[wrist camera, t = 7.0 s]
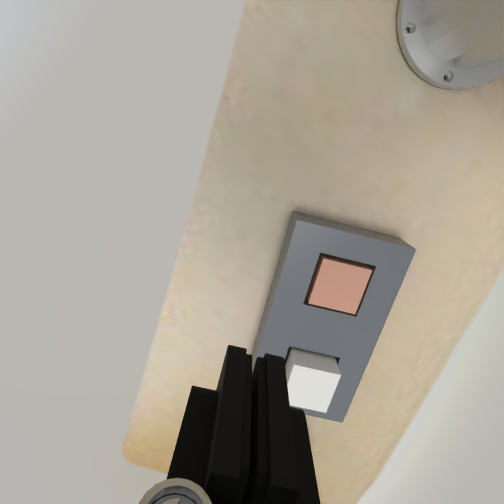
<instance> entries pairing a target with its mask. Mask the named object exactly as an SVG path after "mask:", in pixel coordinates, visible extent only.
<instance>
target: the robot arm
mask: <svg viewBox="0 0 504 504" xmlns="http://www.w3.org/2000/svg"><path fill="white" fill-rule="evenodd" d="M406 28H408V29H409V33H407V32H406ZM397 32H398V38H399V44H400V47H401V50H402V52H403V55H404V57H405V59H406V61H407V62H408V64H409V65H410V67H411V69H412V70H413V71H414V72H415V73H416V74H417V75H418V76H419V77H420V78H422V79H423V80H425V81H426V82H428V83H430V84H431V85H434V86H437V87H440V88H443V89H452V90H460V89H469V88H473V87H477V86H481V85H483V84H486V83H488V82H491V81H493V80H495V79H497V78H499V77H500V76H502V75H503V74H504V0H399V6H398V13H397ZM444 76H445V77H446V80H444ZM246 352H247V351H246V349H245V348H241V347H236V346H232V345H228V348H227V351H226V355H225V359H224V363H223V367H222V370H221V374H220V378H219V382H218V386H217V389H216V391H215V390H210V389H206V388H201V387H197V386H192V388H191V392H190V395H189V399H188V403H187V406H186V410H185V414H184V417H183V421H182V425H181V428H180V432H179V436H178V439H177V443H176V447H175V450H174V454H173V458H172V461H171V465H170V469H169V472H168V476H167V479H166V480H165V481H162V482H160V483H157V484H155V485H154V486H153V487H152V488H151V489H150V490H148V491H147V492H146V494H145V495H144V496H143V498H142V499H141V501H140V502H139V504H320V499H319V493H318V487H317V481H316V476H315V470H314V464H313V458H312V452H311V446H310V440H309V435H308V429H307V423H306V417H305V413H304V411H303V410H302V409H298V408H294V407H290V403H289V395H288V386H287V378H286V369H285V361H284V357H281V356H276V355H272V354H267V353H265V355H264V357H263V358H262V357H257V359H256V362H255V365H254V369H253V372H252V359H253V357H252V355H249V354H246Z"/></svg>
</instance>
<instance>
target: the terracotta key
mask: <svg viewBox="0 0 504 504" xmlns="http://www.w3.org/2000/svg"><path fill="white" fill-rule="evenodd" d="M371 272H372V270H371V268H370V267H369V266H368V265H367V264H365V263H361V262H357V261H352V260H348V259H344V258H340V257H336V256H332V255H328V254H324V253H320V255H319V258H318V261H317V264H316V267H315V270H314V273H313V276H312V279H311V282H310V285H309V288H308V291H307V294H306V297H307V300H308V303H309V304H313V305H317V306H322V307H326V308H330V309H334V310H339V311H343V312H347V313H351V314H355V313H356V311H357V308H358V306H359V303H360V301H361V298H362V296H363V293H364V290H365V288H366V285H367V283H368V280H369V278H370V275H371Z"/></svg>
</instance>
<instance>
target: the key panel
mask: <svg viewBox="0 0 504 504" xmlns="http://www.w3.org/2000/svg"><path fill="white" fill-rule="evenodd" d="M415 251H416V249H415V248H413V247H412V246H410V245H409V244H407V243H406V242H404V241H403V240H401V239H400V238H397V237H393V236H389V235H385V234H381V233H377V232H373V231H369V230H365V229H361V228H357V227H353V226H349V225H345V224H341V223H337V222H333V221H329V220H325V219H321V218H317V217H313V216H309V215H305V214H301V213H297V212H293V213H292V217H291V220H290V224H289V227H288V231H287V234H286V237H285V241H284V244H283V248H282V251H281V255H280V258H279V261H278V265H277V268H276V272H275V275H274V279H273V282H272V285H271V289H270V292H269V296H268V299H267V303H266V306H265V309H264V313H263V316H262V320H261V323H260V327H259V330H258V333H257V337H256V340H255V344H254V347H253V351H252V354H251V355H252V357H253V359H252V372H253V369H254V365H255V362H256V359H257V357H262V358H263V357H264V355H265V353H267V354H272V355H276V356H281V357H284V361H285V365H286V362H287V359H288V356H289V353H290V350H291V347H292V348H296V349H300V350H305V351H309V352H314V353H318V354H322V355H327V356H331V357H335V359H336V362H337V365H338V368H339V371H340V373H341V377H340V379H339V382H338V384H337V387H336V389H335V392H334V394H333V397H332V399H331V402H330V404H329V407H328V409H327V412H326V413H324V412H319V411H314V410H310V409H305V408H301V407H296V406H291V405H290V407H294V408H298V409H302V410H303V411H304V413H305V415H310V416H315V417H319V418H324V419H328V420H333V421H338V422H342V423H343V420H344V418H345V416H346V413H347V411H348V409H349V406H350V404H351V401H352V399H353V397H354V394H355V392H356V390H357V387H358V385H359V383H360V380H361V378H362V376H363V373H364V371H365V369H366V366H367V364H368V362H369V359H370V357H371V354H372V352H373V350H374V347H375V345H376V343H377V340H378V338H379V336H380V333H381V331H382V329H383V326H384V324H385V322H386V319H387V317H388V314H389V312H390V310H391V307H392V305H393V303H394V300H395V298H396V296H397V293H398V291H399V289H400V286H401V284H402V282H403V279H404V277H405V275H406V272H407V270H408V267H409V265H410V263H411V260H412V258H413V256H414V253H415ZM320 253H324V254H328V255H332V256H336V257H340V258H344V259H348V260H352V261H357V262H361V263H365V264H367V265H368V266H369V267H370V268H371V270H372V272H371V275H370V278H369V280H368V283H367V285H366V288H365V290H364V293H363V296H362V298H361V301H360V303H359V306H358V308H357V311H356V313H355V314H351V313H347V312H343V311H339V310H334V309H330V308H326V307H322V306H317V305H313V304H309V303H308V300H307V297H306V294H307V291H308V288H309V285H310V282H311V279H312V276H313V273H314V270H315V267H316V264H317V261H318V258H319V255H320Z"/></svg>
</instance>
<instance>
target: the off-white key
mask: <svg viewBox="0 0 504 504" xmlns="http://www.w3.org/2000/svg"><path fill="white" fill-rule="evenodd" d="M285 369H286V378H287V386H288V395H289V403H290V405H291V406H296V407H301V408H305V409H310V410H314V411H319V412H324V413H326V412H327V409H328V407H329V404H330V402H331V399H332V397H333V394H334V392H335V389H336V387H337V384H338V382H339V379H340V377H341V373H340V371H339V368H338V365H337V362H336V359H335V357H331V356H327V355H322V354H318V353H314V352H309V351H305V350H300V349H296V348H292V347H291V350H290V353H289V356H288V359H287V362H286V365H285Z"/></svg>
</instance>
